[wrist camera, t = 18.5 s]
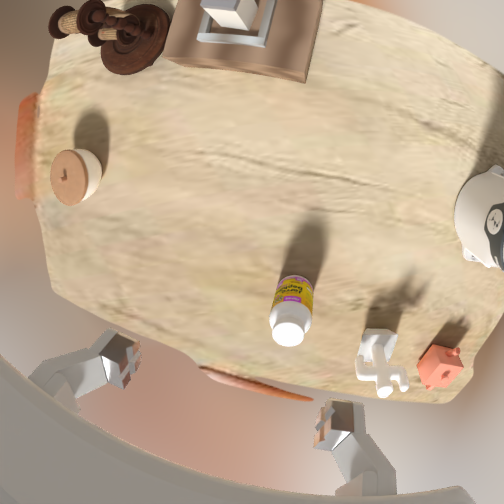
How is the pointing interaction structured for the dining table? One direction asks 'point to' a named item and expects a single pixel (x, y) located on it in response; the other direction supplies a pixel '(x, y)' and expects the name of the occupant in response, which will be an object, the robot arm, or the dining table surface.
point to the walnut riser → (247, 39)
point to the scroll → (116, 33)
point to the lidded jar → (75, 175)
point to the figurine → (380, 361)
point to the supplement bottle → (291, 310)
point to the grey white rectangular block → (231, 12)
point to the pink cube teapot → (439, 366)
